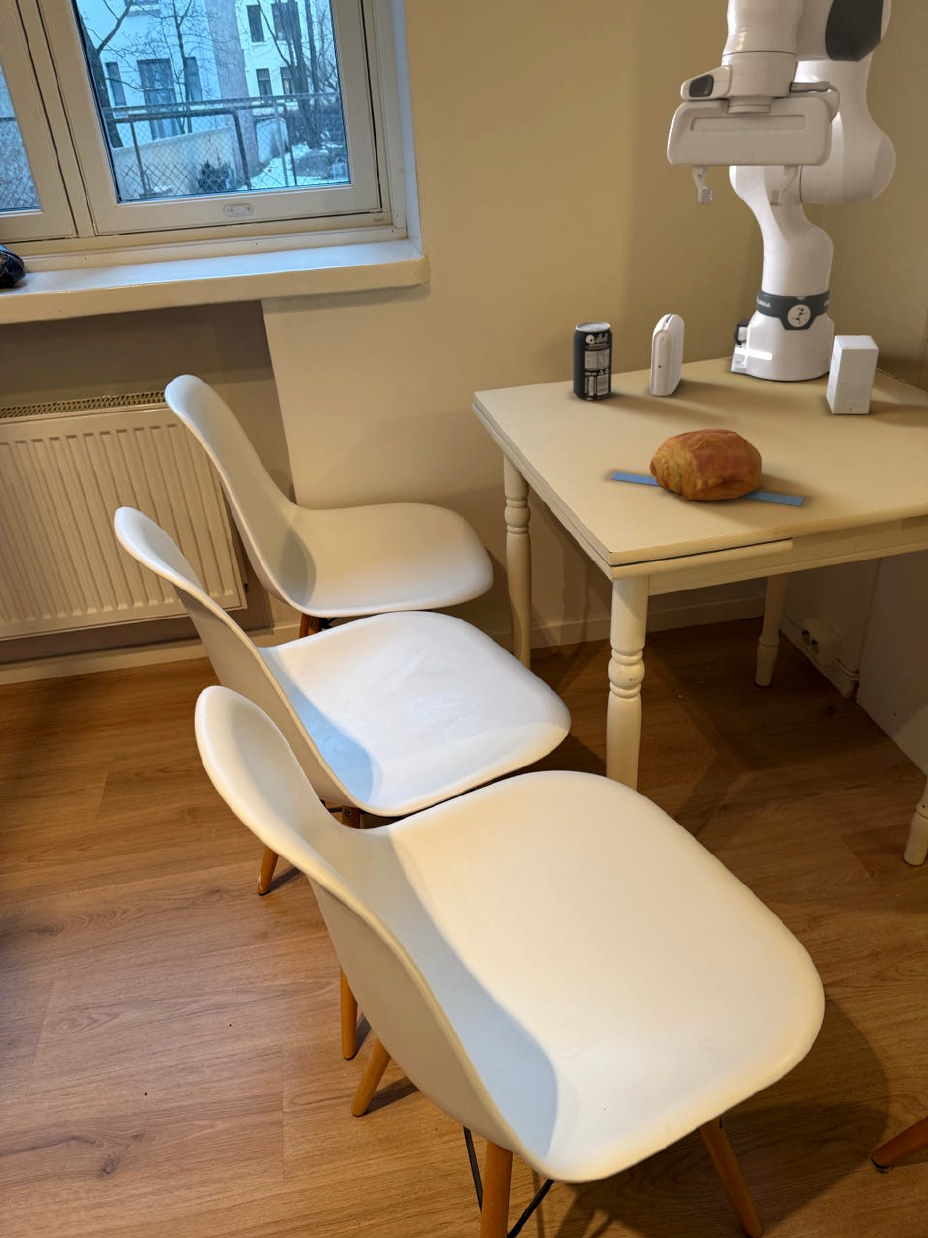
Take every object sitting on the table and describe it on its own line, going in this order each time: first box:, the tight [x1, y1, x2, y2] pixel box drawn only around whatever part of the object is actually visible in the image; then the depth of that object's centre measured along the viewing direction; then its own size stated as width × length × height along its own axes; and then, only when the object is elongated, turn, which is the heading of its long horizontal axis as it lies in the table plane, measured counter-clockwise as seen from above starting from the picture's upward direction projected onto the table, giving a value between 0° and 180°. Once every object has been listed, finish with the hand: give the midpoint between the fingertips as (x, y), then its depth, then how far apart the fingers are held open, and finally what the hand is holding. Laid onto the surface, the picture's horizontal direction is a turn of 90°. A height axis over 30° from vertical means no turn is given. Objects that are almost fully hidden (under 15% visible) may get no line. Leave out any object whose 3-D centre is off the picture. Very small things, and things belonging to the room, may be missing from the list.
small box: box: [825, 334, 880, 415], centre depth 150 cm, size 8×6×10 cm
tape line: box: [611, 472, 805, 507], centre depth 129 cm, size 2×26×1 cm, turn 63°
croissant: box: [649, 428, 763, 502], centre depth 129 cm, size 14×16×8 cm
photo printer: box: [649, 313, 685, 397], centre depth 163 cm, size 10×4×12 cm, turn 158°
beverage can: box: [572, 321, 613, 401], centre depth 162 cm, size 7×7×12 cm
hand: (740, 204), depth 122 cm, fingers open, 8 cm apart
